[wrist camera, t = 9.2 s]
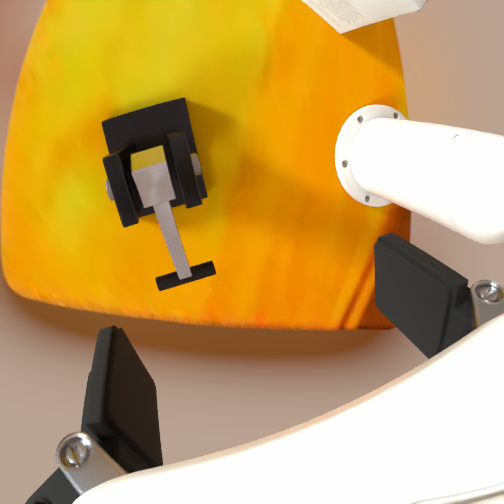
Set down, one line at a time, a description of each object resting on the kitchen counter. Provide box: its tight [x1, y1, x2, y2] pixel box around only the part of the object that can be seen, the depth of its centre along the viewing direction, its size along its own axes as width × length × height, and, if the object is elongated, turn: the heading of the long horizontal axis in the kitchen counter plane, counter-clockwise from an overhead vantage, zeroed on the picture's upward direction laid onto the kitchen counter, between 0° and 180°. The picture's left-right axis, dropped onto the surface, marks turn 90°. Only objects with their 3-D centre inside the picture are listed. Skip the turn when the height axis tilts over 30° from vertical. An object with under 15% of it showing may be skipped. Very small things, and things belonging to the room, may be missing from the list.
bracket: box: [102, 98, 208, 227], centre depth 23 cm, size 10×8×13 cm
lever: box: [131, 145, 216, 291], centre depth 22 cm, size 12×5×2 cm, turn 12°
